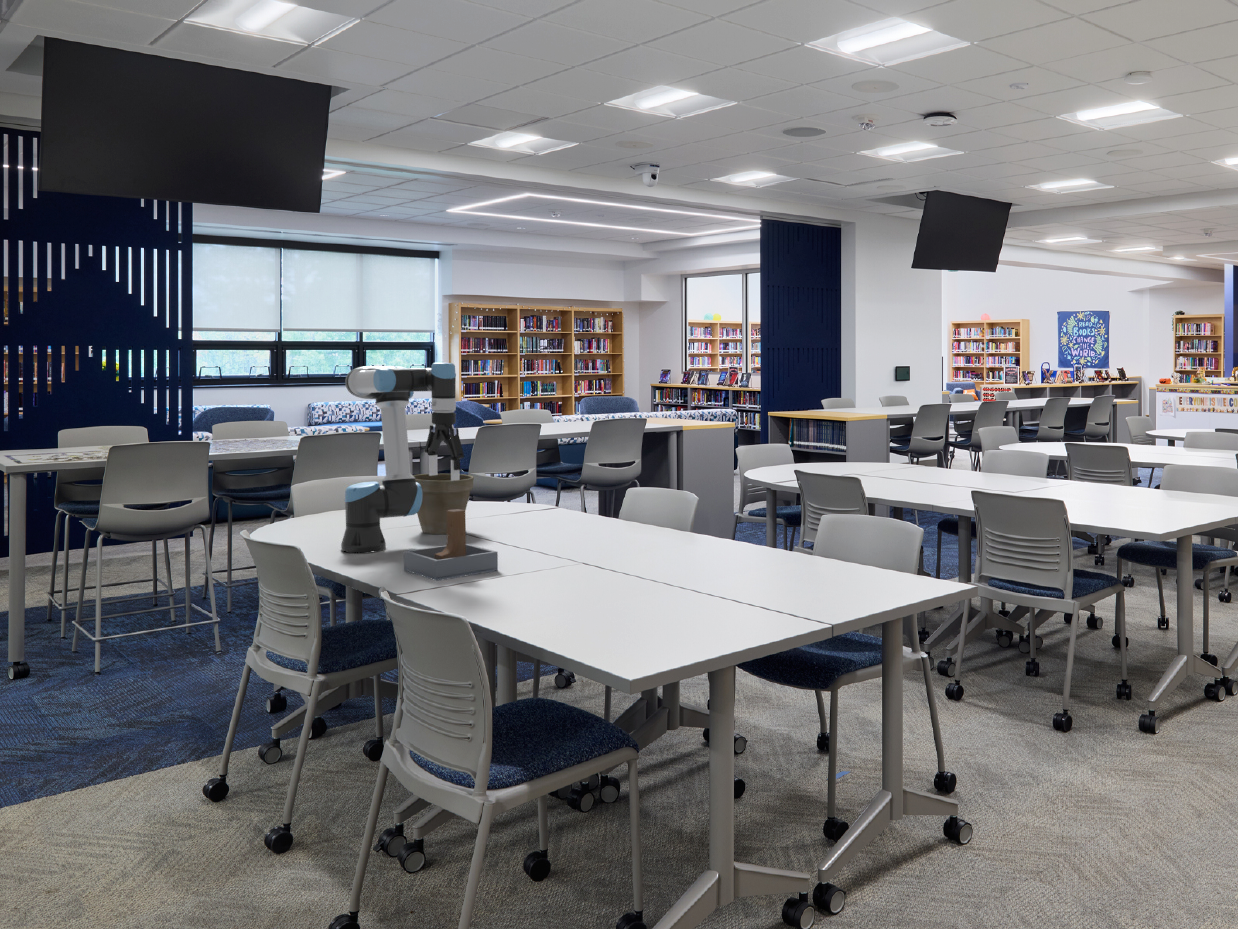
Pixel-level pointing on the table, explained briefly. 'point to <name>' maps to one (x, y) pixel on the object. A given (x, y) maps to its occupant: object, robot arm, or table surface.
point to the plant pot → (441, 499)
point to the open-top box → (450, 562)
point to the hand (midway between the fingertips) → (444, 477)
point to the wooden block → (454, 535)
